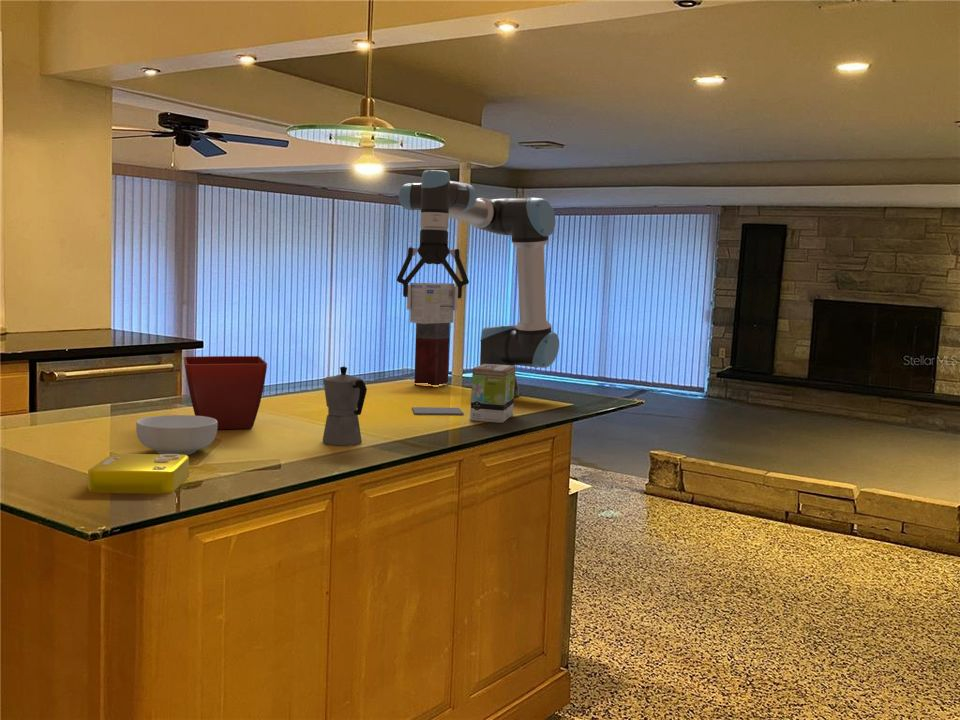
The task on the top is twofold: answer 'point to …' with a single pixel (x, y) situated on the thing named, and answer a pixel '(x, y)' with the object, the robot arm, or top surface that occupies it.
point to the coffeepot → (343, 409)
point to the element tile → (139, 473)
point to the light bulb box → (432, 303)
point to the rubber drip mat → (436, 411)
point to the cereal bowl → (176, 433)
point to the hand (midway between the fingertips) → (432, 310)
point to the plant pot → (226, 388)
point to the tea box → (492, 393)
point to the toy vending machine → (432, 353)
